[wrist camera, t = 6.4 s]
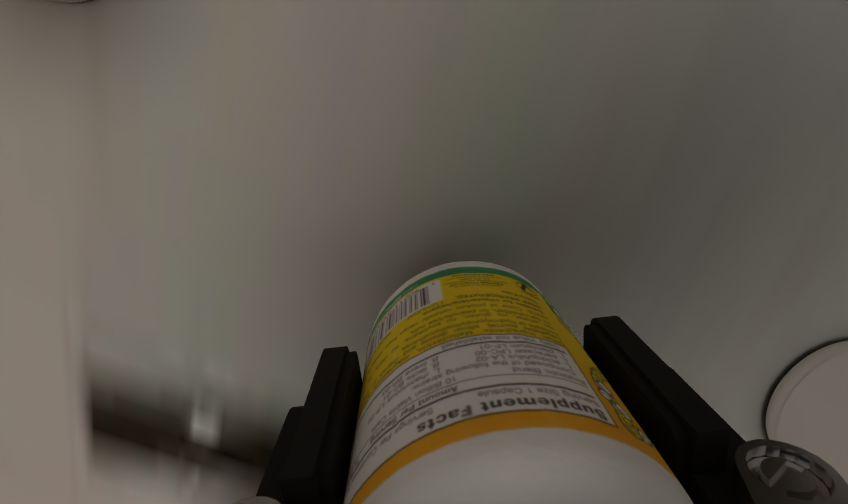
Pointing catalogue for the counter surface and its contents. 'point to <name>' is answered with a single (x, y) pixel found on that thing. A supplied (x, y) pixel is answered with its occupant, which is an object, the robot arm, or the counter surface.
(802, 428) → the pill bottle
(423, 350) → the supplement bottle
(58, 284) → the counter surface
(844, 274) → the counter surface
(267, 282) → the counter surface
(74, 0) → the beer glass
